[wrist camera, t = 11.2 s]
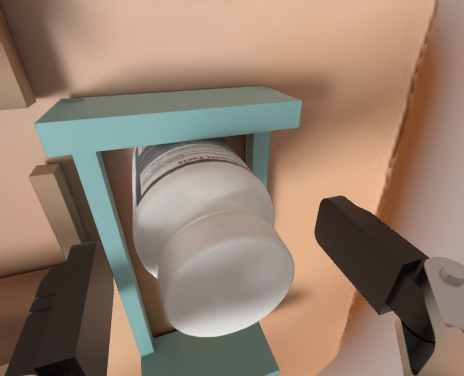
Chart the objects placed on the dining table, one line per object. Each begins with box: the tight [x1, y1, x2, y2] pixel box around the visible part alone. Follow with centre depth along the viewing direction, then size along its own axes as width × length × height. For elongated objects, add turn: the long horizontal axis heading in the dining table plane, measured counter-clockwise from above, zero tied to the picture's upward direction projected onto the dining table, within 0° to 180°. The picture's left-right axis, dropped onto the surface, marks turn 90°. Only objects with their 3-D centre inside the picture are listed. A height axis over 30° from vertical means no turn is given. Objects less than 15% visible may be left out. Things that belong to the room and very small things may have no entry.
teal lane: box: [34, 85, 302, 376], centre depth 17 cm, size 22×10×6 cm, turn 1°
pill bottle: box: [132, 137, 294, 337], centre depth 11 cm, size 5×5×10 cm
